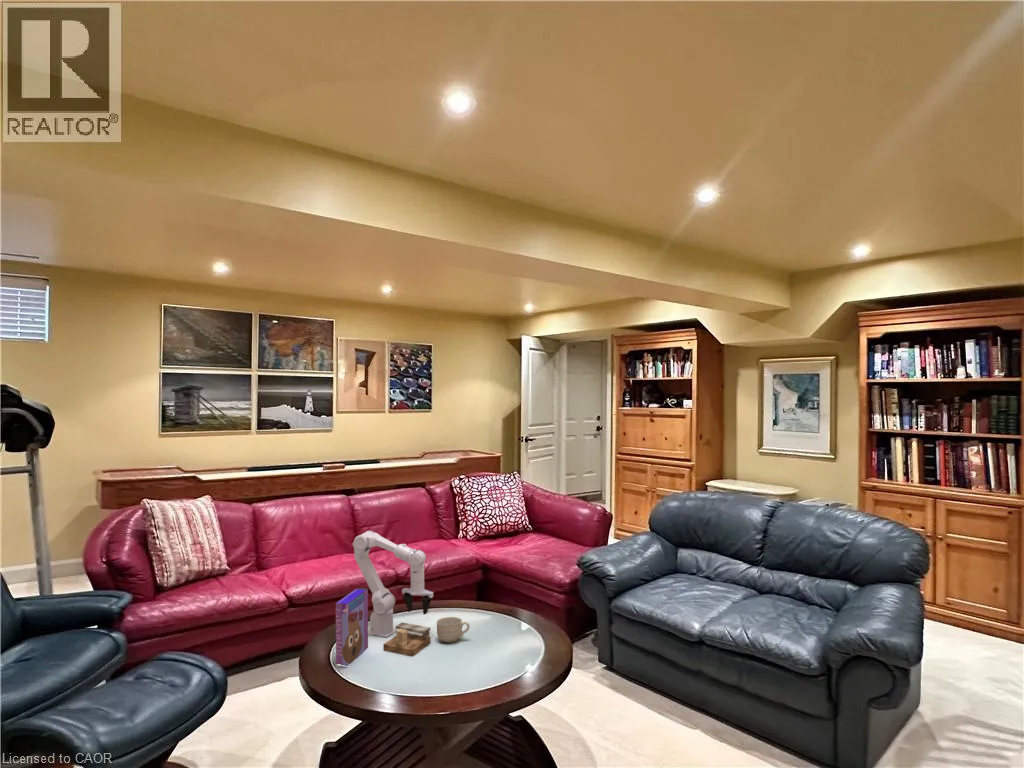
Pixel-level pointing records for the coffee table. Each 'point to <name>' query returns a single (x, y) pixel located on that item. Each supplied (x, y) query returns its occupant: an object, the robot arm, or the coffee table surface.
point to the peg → (401, 637)
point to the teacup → (450, 628)
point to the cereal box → (351, 626)
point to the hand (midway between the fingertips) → (417, 612)
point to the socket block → (409, 640)
